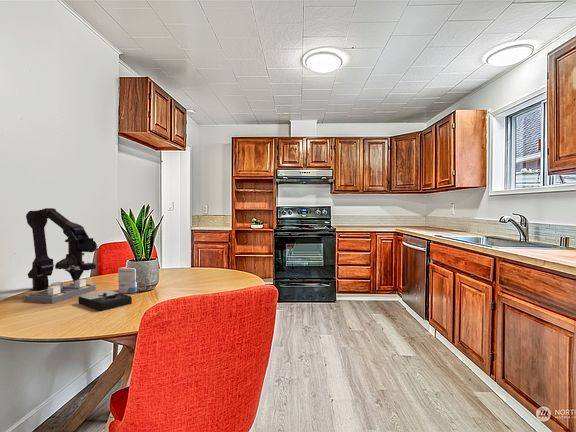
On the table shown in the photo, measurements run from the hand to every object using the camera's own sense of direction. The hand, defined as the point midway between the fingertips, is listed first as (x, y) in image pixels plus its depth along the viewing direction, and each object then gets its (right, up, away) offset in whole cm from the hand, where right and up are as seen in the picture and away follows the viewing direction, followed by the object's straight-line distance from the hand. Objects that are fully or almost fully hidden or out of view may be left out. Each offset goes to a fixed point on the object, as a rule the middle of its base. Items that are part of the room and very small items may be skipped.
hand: (75, 283), depth 167 cm
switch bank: (-2, -4, -7) cm, 8 cm away
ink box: (+26, -4, 0) cm, 26 cm away
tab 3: (+2, -1, -1) cm, 3 cm away
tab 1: (-5, -1, -6) cm, 8 cm away
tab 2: (-1, -2, -14) cm, 14 cm away
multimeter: (+25, -5, -21) cm, 33 cm away
